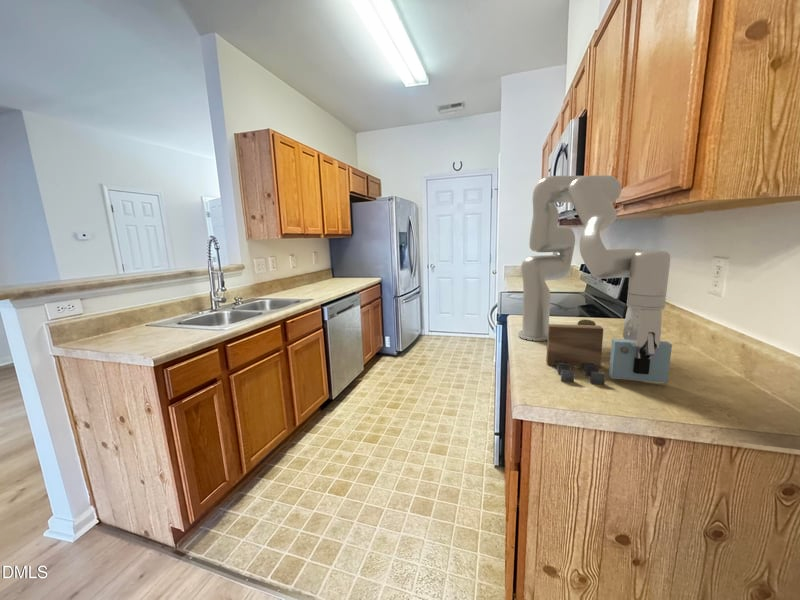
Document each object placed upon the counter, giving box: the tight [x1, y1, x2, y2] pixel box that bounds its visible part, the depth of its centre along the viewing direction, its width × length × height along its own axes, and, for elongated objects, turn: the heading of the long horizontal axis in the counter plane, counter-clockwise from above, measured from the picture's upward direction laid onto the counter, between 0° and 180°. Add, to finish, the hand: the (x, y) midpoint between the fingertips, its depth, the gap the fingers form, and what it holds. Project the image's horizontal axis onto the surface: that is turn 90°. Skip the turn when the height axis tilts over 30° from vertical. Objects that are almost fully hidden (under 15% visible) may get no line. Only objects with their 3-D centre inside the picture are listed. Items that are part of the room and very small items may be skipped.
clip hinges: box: [555, 361, 606, 386], centre depth 89 cm, size 12×10×3 cm
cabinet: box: [545, 323, 604, 370], centre depth 96 cm, size 4×14×12 cm, turn 72°
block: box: [608, 338, 673, 384], centre depth 82 cm, size 4×12×10 cm, turn 72°
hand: (638, 370), depth 83 cm, fingers closed on block, 2 cm apart
